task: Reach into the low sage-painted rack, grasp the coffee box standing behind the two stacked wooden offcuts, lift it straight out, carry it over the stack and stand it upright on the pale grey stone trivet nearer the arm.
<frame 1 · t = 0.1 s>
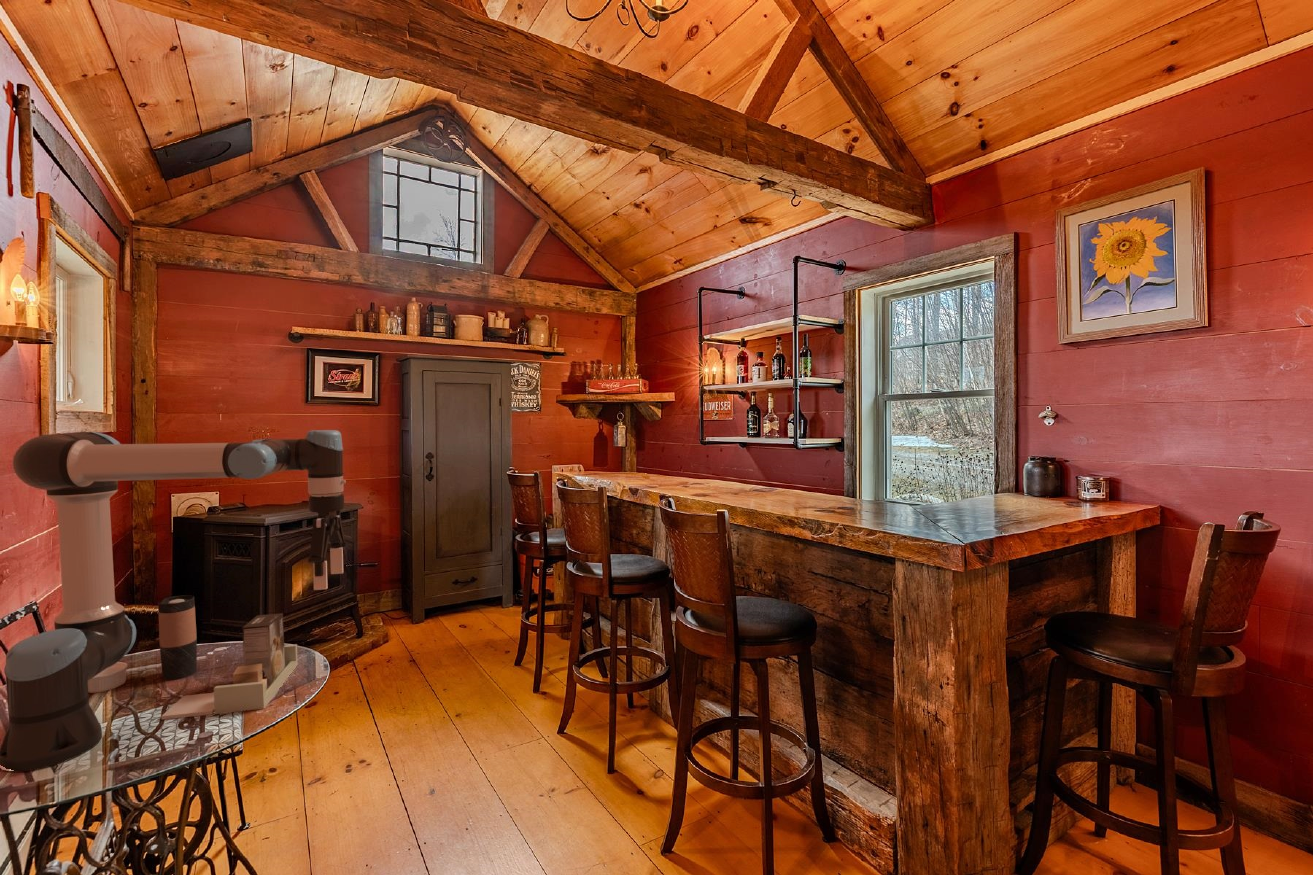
hand: (329, 581, 149), 28 cm above the table, fingers open, 13 cm apart
trivet: (197, 706, 144), on the table
offcut top: (248, 685, 146), point 4 cm above the table, touching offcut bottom
round wooden block: (105, 686, 155), on the table
coffee box: (265, 681, 157), resting in rack
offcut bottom: (248, 701, 146), resting in rack, touching offcut top
rack: (259, 687, 153), on the table
travel mug: (179, 674, 161), on the table
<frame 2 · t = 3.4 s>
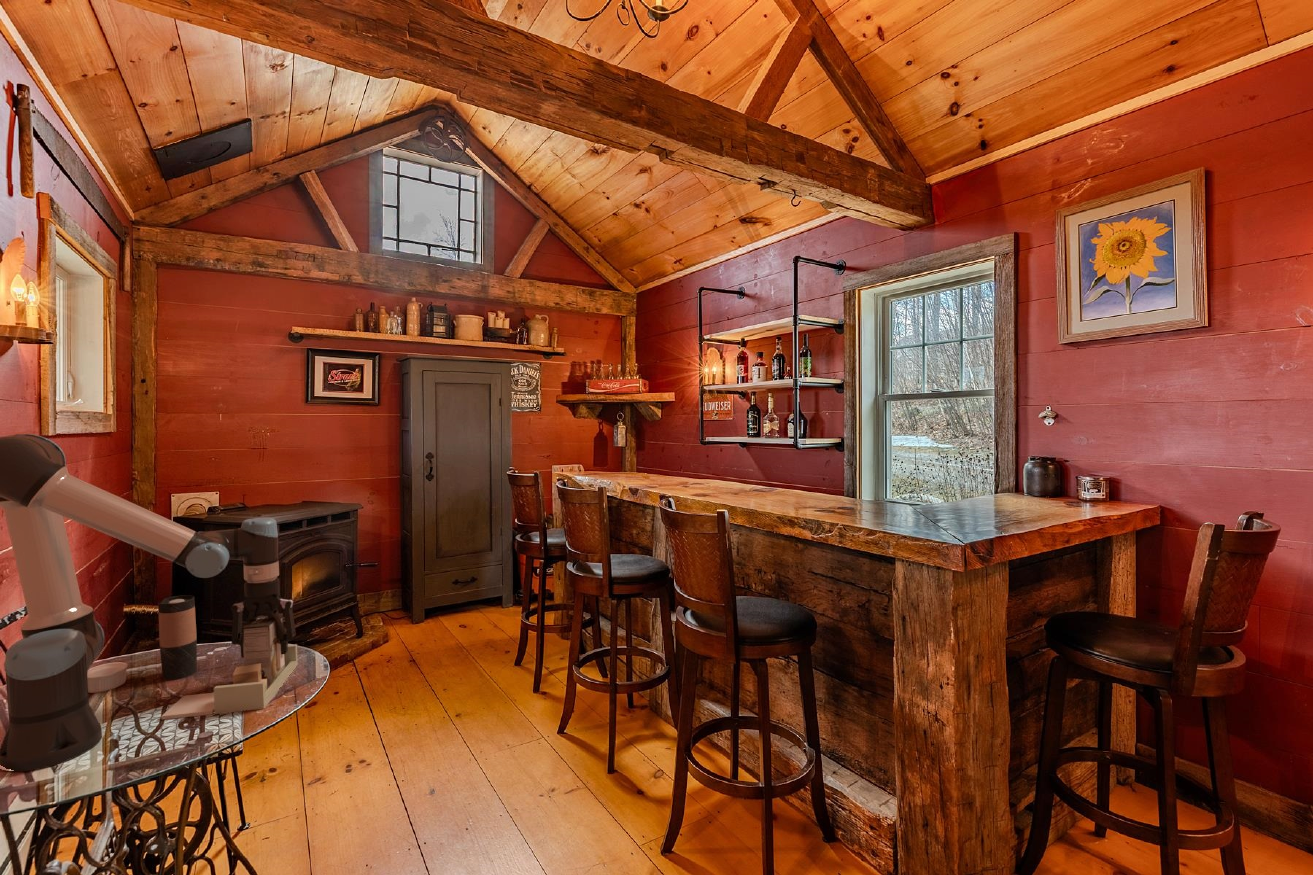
hand: (265, 667, 157), 3 cm above the table, fingers closed on coffee box, 6 cm apart
coffee box: (265, 681, 157), resting in rack, touching gripper
everything else where it was.
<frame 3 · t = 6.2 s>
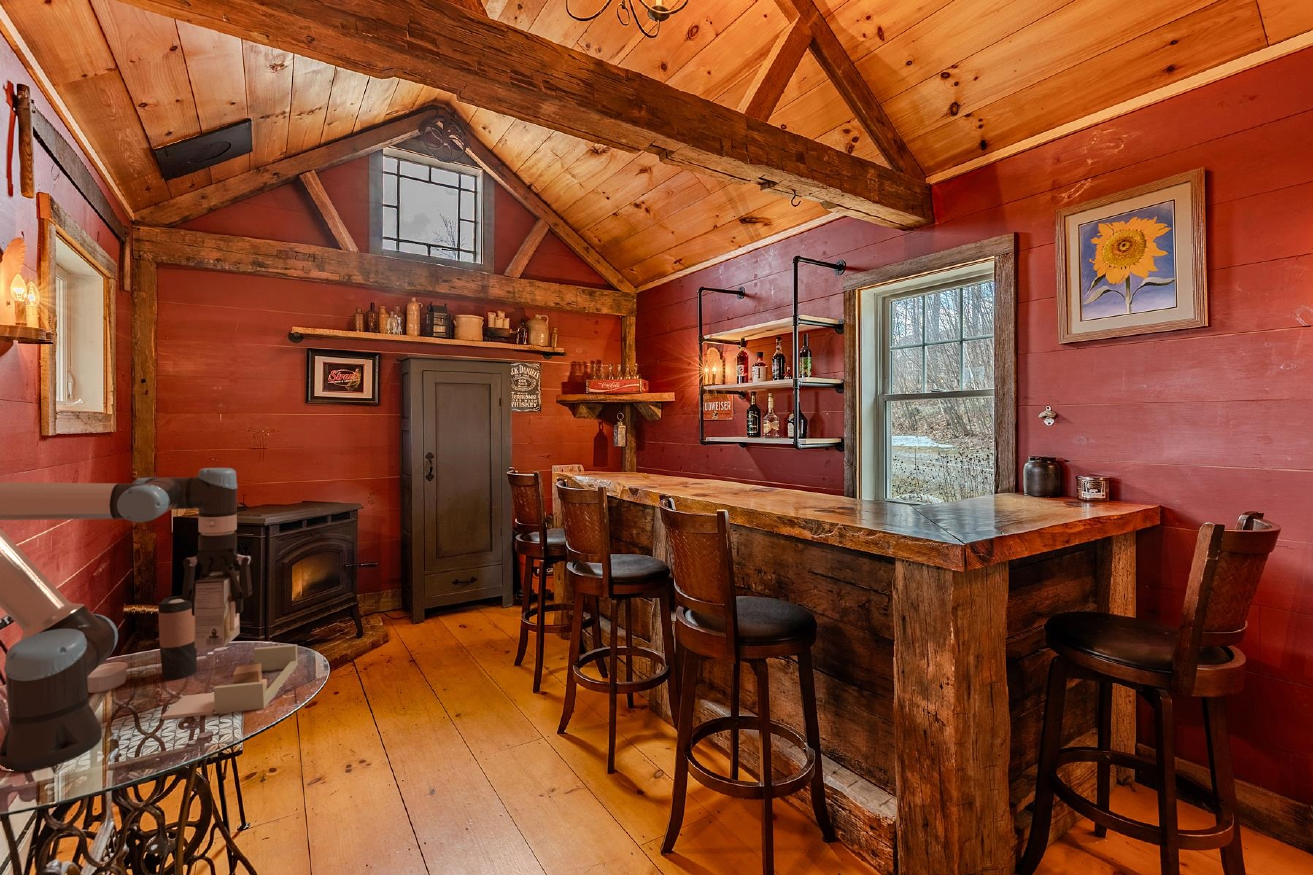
hand: (217, 627, 148), 17 cm above the table, fingers closed on coffee box, 6 cm apart
coffee box: (217, 642, 148), point 14 cm above the table, touching gripper
everything else where it was.
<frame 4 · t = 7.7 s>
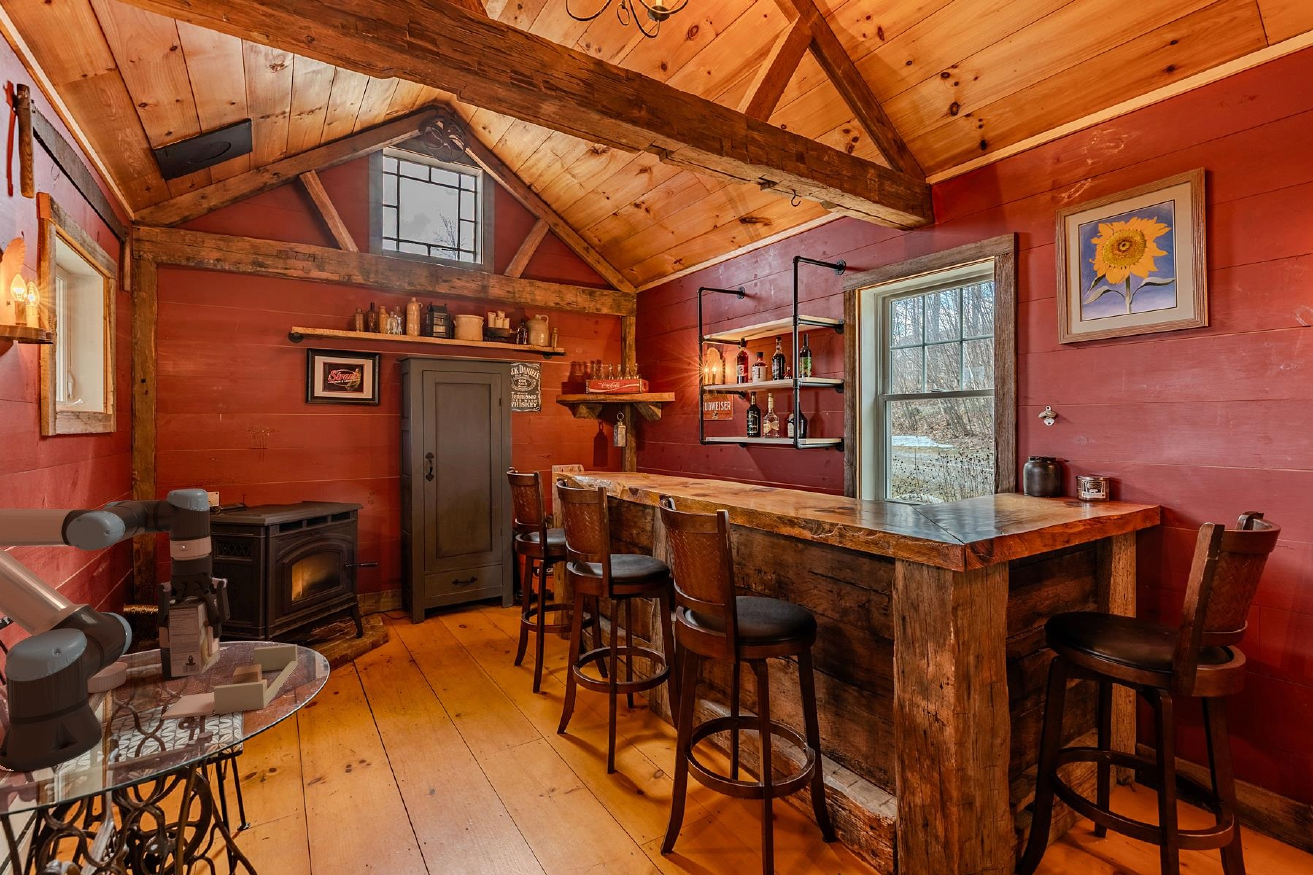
hand: (196, 653, 143), 13 cm above the table, fingers closed on coffee box, 6 cm apart
offcut top: (247, 685, 146), point 4 cm above the table
coffee box: (196, 668, 143), point 9 cm above the table, touching gripper
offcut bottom: (248, 702, 146), resting in rack
everything else where it was.
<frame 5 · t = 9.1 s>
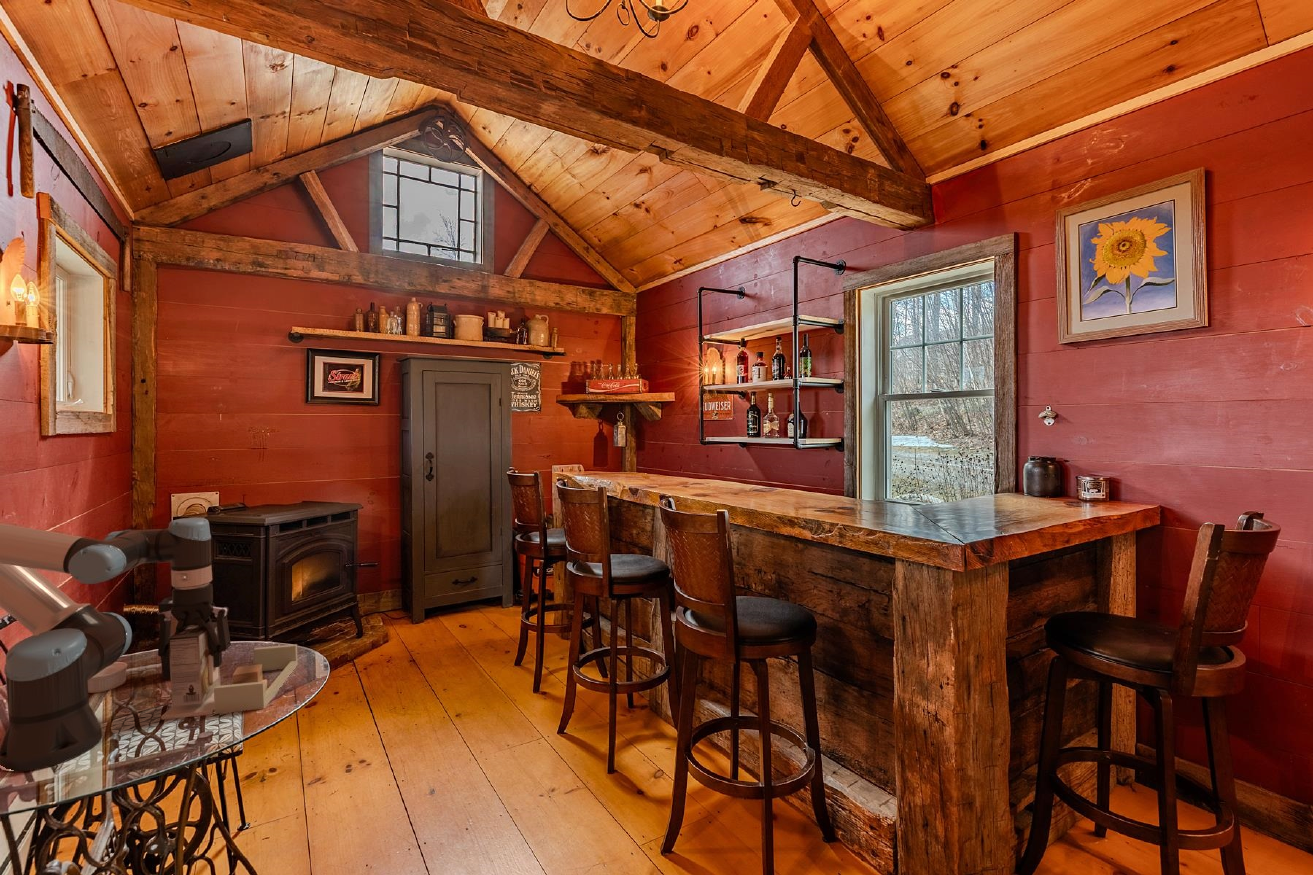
hand: (196, 681, 144), 6 cm above the table, fingers closed on coffee box, 6 cm apart
offcut top: (248, 685, 146), point 4 cm above the table, touching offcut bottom
coffee box: (197, 697, 144), point 2 cm above the table, touching gripper
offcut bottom: (248, 702, 146), resting in rack, touching offcut top
everything else where it was.
when the fingers open (6 cm above the table, at t = 9.2 s): coffee box drops 2 cm, resting on trivet.
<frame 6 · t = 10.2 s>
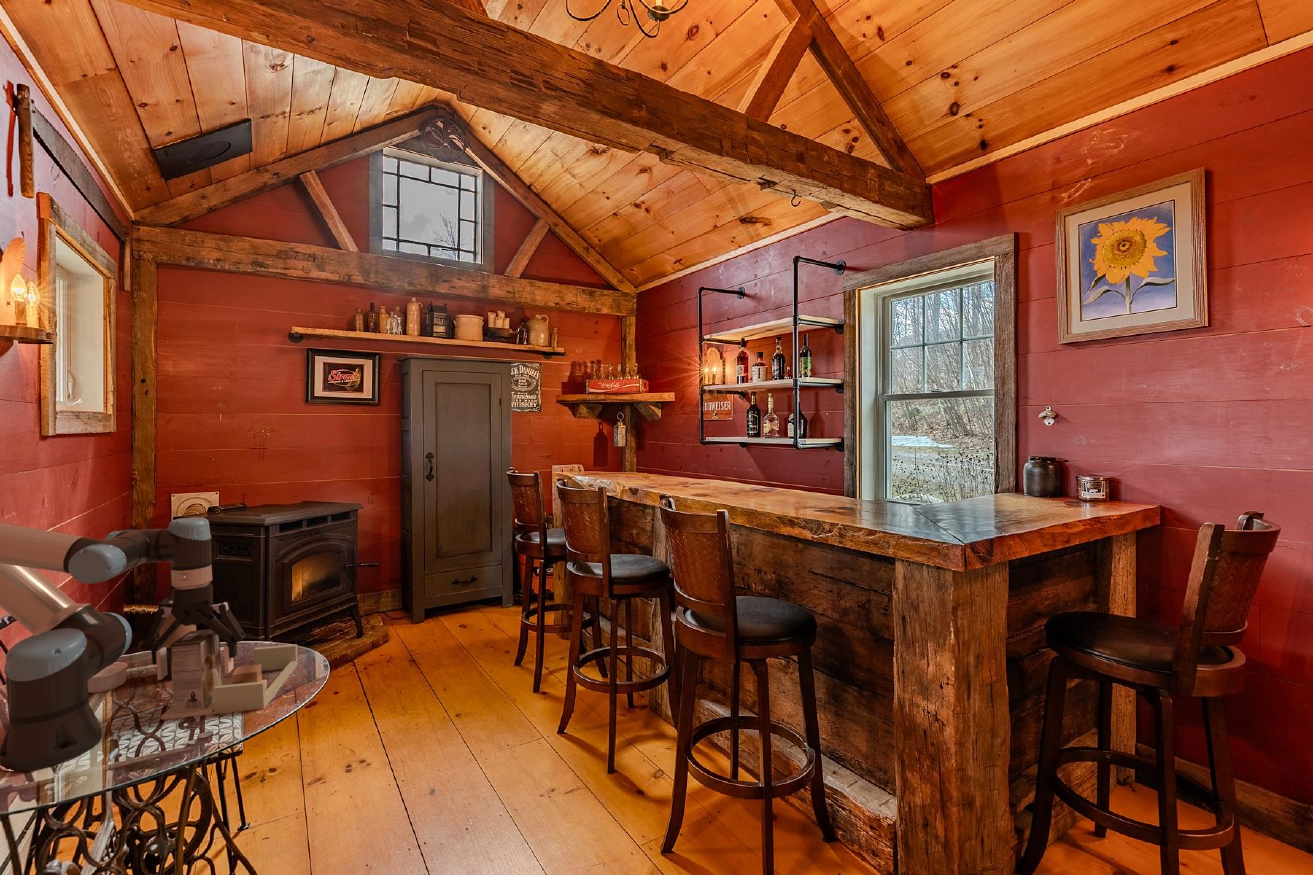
hand: (196, 674, 144), 8 cm above the table, fingers open, 13 cm apart
coffee box: (198, 703, 144), point 1 cm above the table, touching trivet
everything else where it was.
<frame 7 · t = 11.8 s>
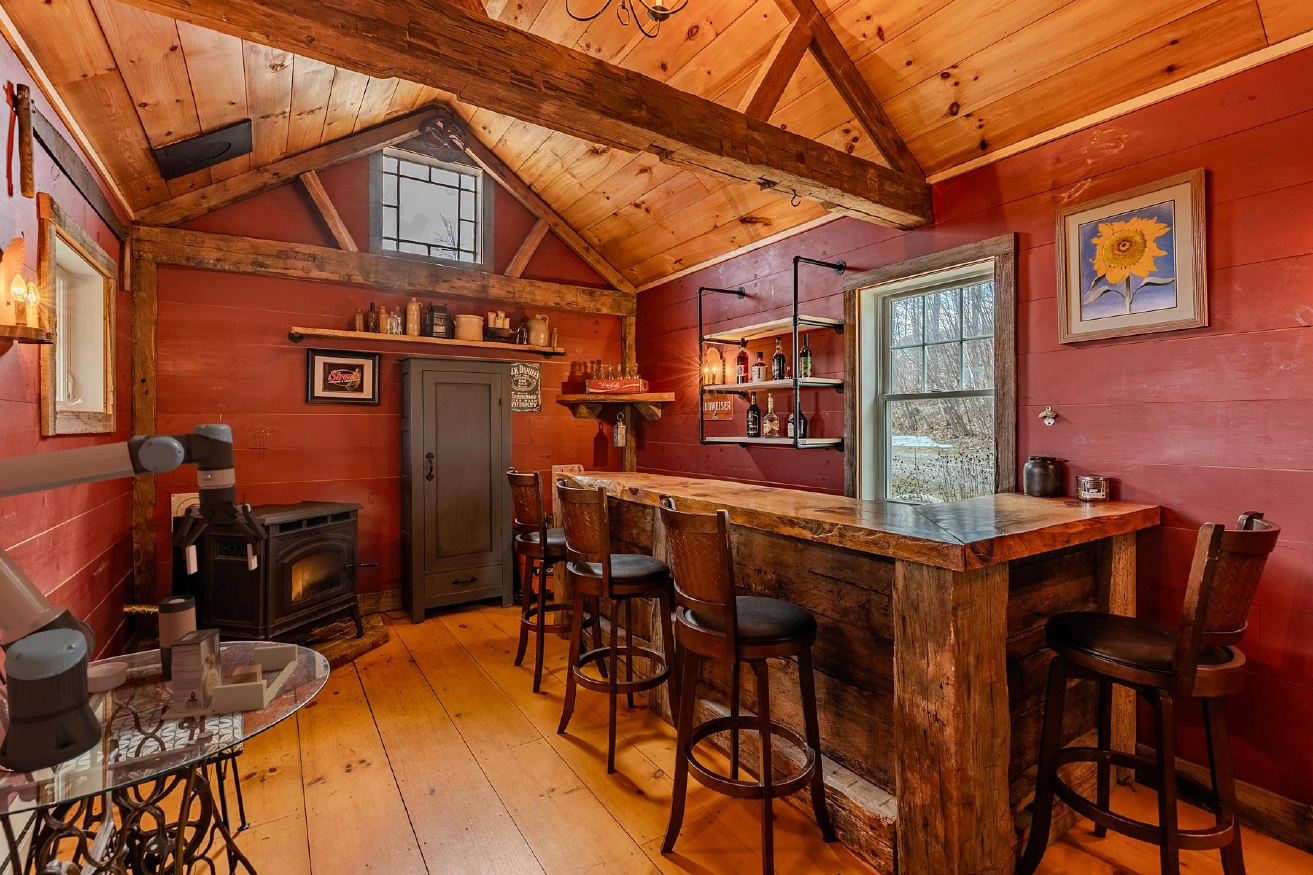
hand: (223, 570, 153), 29 cm above the table, fingers open, 13 cm apart
nothing on the table moved.
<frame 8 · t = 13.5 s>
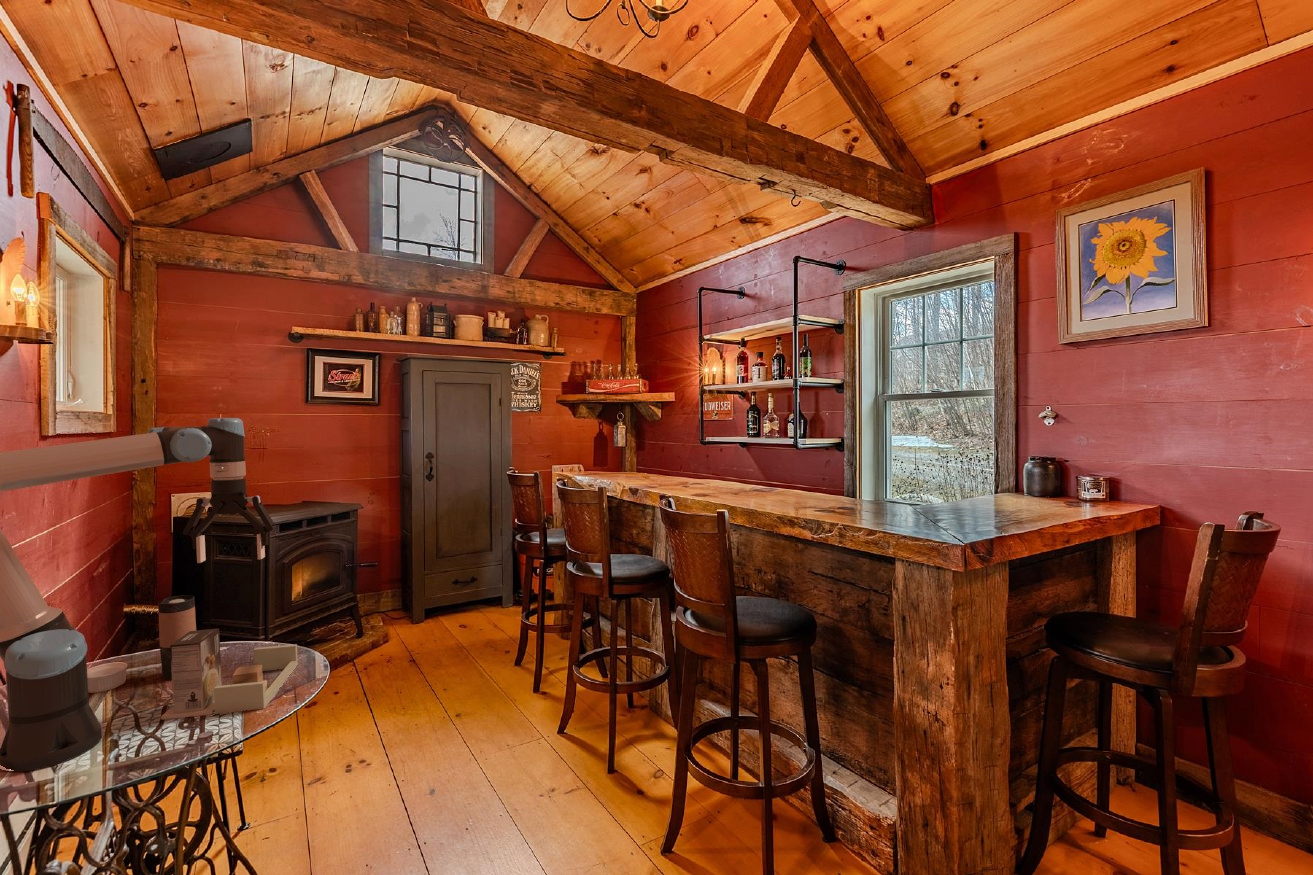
hand: (231, 560, 158), 31 cm above the table, fingers open, 13 cm apart
nothing on the table moved.
at the end: coffee box inside the target area on the trivet (0.2 cm from its centre), point 0.6 cm above the trivet's base; coffee box tilted 0°; the gripper is holding nothing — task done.
